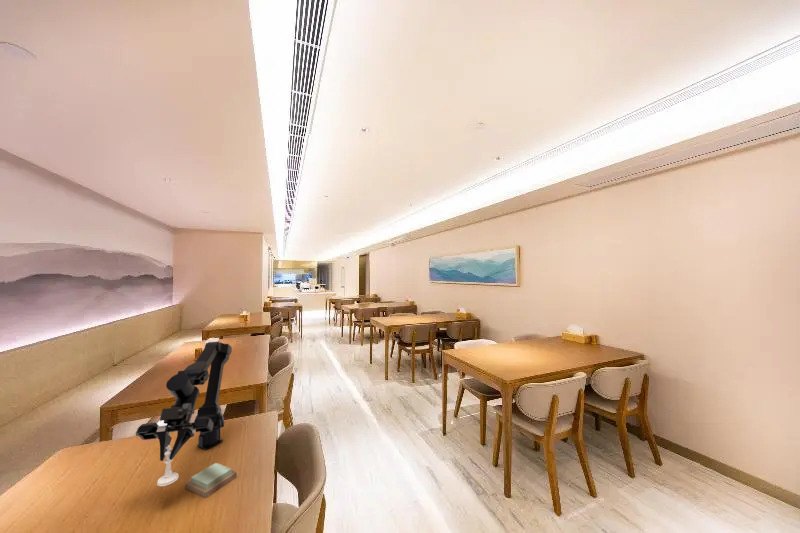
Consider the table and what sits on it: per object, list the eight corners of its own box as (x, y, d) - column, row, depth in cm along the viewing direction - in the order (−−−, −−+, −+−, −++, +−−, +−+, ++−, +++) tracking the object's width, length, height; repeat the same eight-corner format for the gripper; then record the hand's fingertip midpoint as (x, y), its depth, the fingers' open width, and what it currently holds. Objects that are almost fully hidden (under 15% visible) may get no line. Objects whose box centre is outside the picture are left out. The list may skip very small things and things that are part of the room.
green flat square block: (216, 469, 100) (217, 460, 100) (236, 477, 96) (236, 467, 96) (185, 488, 91) (185, 478, 91) (205, 497, 86) (205, 487, 87)
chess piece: (166, 487, 82) (167, 451, 82) (152, 485, 83) (153, 449, 83) (182, 475, 87) (183, 441, 87) (169, 473, 88) (170, 439, 88)
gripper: (140, 397, 87) (113, 456, 76) (210, 390, 92) (194, 445, 81) (154, 412, 94) (131, 468, 83) (219, 405, 99) (205, 458, 88)
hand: (166, 460), depth 84 cm, fingers closed on chess piece
